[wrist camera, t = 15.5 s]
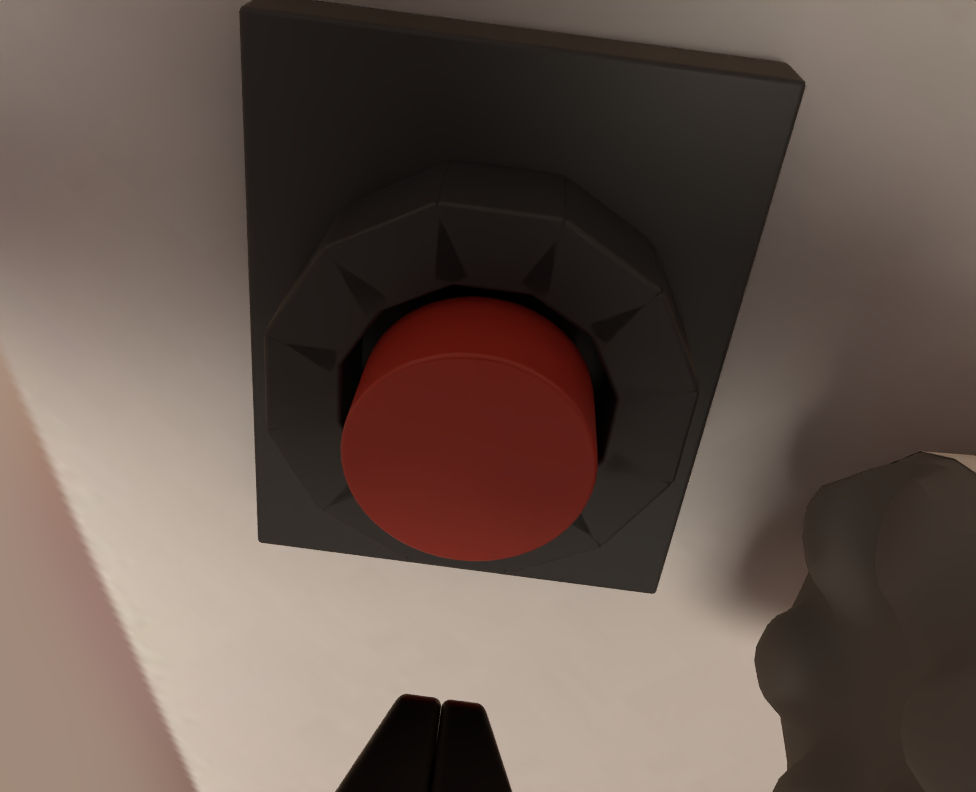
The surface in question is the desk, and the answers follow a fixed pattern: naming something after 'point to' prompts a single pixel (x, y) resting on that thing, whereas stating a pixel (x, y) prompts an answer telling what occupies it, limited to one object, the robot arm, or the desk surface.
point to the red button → (472, 430)
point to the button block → (498, 244)
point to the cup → (881, 634)
